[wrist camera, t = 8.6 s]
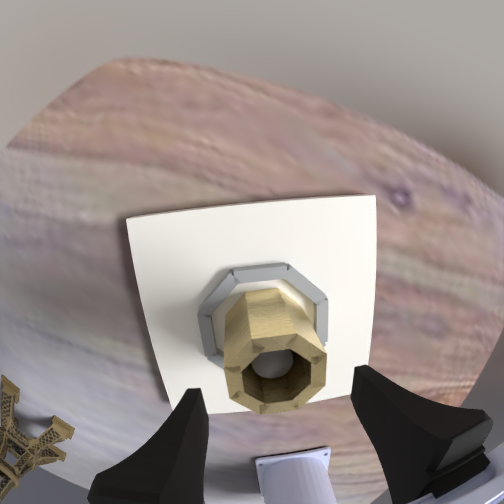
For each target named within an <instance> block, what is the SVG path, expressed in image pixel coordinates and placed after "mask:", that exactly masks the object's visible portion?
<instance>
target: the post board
mask: <svg viewBox="0 0 504 504" xmlns="http://www.w3.org/2000/svg"><path fill="white" fill-rule="evenodd" d="M126 222H127V229H128V235H129V241H130V247H131V253H132V259H133V264H134V269H135V274H136V279H137V284H138V289H139V293H140V298H141V302H142V306H143V311H144V315H145V319H146V323H147V327H148V331H149V334H150V338H151V342H152V346H153V349H154V353H155V356H156V360H157V363H158V366H159V369H160V373H161V376H162V379H163V382H164V385H165V388H166V391H167V394H168V397H169V400H170V403H171V406H172V409H173V410H174V409H175V407H176V406H177V404H178V403H179V401H180V399H181V398H182V396H183V395H184V393H185V391H186V390H187V389H188V388H201V391H202V395H203V398H204V402H205V406H206V410H207V414H213V413H229V412H242V411H252V410H250V409H248V408H246V407H244V406H242V405H240V404H238V403H236V402H235V401H233V400H231V399H229V394H228V389H227V383H226V378H225V373H224V368H223V366H224V338H225V314H226V313H227V312H228V311H229V310H230V309H231V308H232V306H233V305H234V304H235V303H236V302H237V301H238V300H239V298H240V297H241V296H242V295H243V294H244V293H245V291H254V290H263V289H272V288H279V289H280V290H281V291H283V292H284V293H285V294H287V295H288V296H289V297H290V298H292V299H293V300H294V301H296V302H297V303H298V304H300V305H301V306H302V308H303V310H304V312H305V314H306V316H307V317H308V319H309V321H310V323H311V325H312V327H313V329H314V330H315V332H316V334H317V336H318V338H319V340H320V342H321V343H322V345H323V347H324V349H325V351H326V353H327V367H326V386H324V387H323V388H322V389H321V390H320V391H319V392H318V393H317V394H316V395H314V396H313V397H312V398H311V399H310V400H309V401H308V402H306V403H309V402H315V401H320V400H325V399H330V398H335V397H339V396H344V395H348V394H351V391H352V383H353V375H354V367H357V366H361V365H365V364H366V365H368V359H369V351H370V343H371V333H372V323H373V311H374V297H375V278H376V196H375V195H369V194H357V195H338V196H321V197H307V198H293V199H280V200H269V201H257V202H247V203H237V204H227V205H218V206H209V207H200V208H192V209H184V210H176V211H168V212H160V213H153V214H146V215H139V216H133V217H130V218H128V219H126ZM292 364H293V356H292V353H291V350H290V349H285V350H278V351H270V352H262V353H260V354H259V355H258V356H257V357H256V358H255V359H254V360H253V361H252V365H253V369H254V371H255V372H256V373H257V374H258V375H260V376H262V377H264V378H277V377H280V376H282V375H284V374H286V373H287V372H288V371H289V370H290V369H291V367H292Z"/></svg>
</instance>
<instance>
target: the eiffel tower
mask: <svg viewBox="0 0 504 504" xmlns="http://www.w3.org/2000/svg"><path fill="white" fill-rule="evenodd" d="M2 389H3V390H2V401H1V427H0V476H1V477H2V478H3V480H2V481H1V483H0V503H1V501H2V500H3V499H4V497H5V496H6V495H7V494H8V492H9V491H10V490H11V488H12V487H13V488H14V489H17V488H18V487H19V484H20V479H21V478H22V477H23V475H24V474H25V473H27V472H28V471H29V470H31V469H32V470H33V471H34V469H35V466H39V465H44V464H48V463H53V462H56V461H57V460H62V461H63V462H64V459H65V456H66V453H65V452H63V451H61V450H60V449H58V448H57V447H55V446H53V445H52V444H55V443H58V442H61V441H64V440H65V439H67V438H69V439H71V438H72V436H73V433H74V430H75V428H74V427H72V426H70V425H69V424H67V423H66V422H64V421H63V420H61V419H60V418H58V417H57V416H55V415H54V418H53V420H52V423H51V426H50V427H49V428H48V429H47V430H46V431H45V432H44V433H43V434H42V435H41V436H39V437H38V438H29V437H26V436H25V435H23V434H22V433H21V432H20V431H19V430H17V429H18V420H17V419H16V418H15V417H14V403H16V404H17V403H18V402H19V392H20V389H19V388H18V387H16V386H15V385H14V384H13V383H12V382H11V381H9V380H8V379H7V378H6V377H5V376H4V375H2ZM46 446H47V448H45V449H42V448H44V447H46ZM7 451H9V452H10V453H11V454H12V455H14V456H15V457H16V458H18V461H17V462H16V463H15V465H14V466H12V465H10V464H9V463H8V462H6V461H5V460H4V459H5V457H6V453H7Z"/></svg>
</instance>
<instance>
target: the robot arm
mask: <svg viewBox="0 0 504 504" xmlns="http://www.w3.org/2000/svg"><path fill="white" fill-rule="evenodd" d="M351 400H352V403H353V406H354V409H355V412H356V414H357V416H358V418H359V420H360V422H361V424H362V425H363V427H364V429H365V431H366V433H367V435H368V436H369V438H370V440H371V442H372V444H373V446H374V448H375V450H376V452H377V454H378V457H379V460H380V462H381V465H382V468H383V471H384V474H385V477H386V480H387V484H388V487H389V490H390V494H391V498H392V503H393V504H497V503H499V502H500V501H501V500H502V499H504V442H503V443H502V444H501V445H499V446H498V447H496V448H495V449H494V450H492V451H491V452H490V453H489V454H488V455H487V456H485V454H484V453H483V452H484V451H485V448H484V446H483V445H482V444H483V443H484V441H485V439H486V438H487V436H488V434H489V433H490V431H491V429H492V426H493V421H492V419H491V418H490V417H489V416H488V415H487V414H486V413H485V412H484V411H483V410H478V409H465V408H459V407H453V406H449V405H444V404H441V403H437V402H434V401H431V400H428V399H426V398H423V397H421V396H419V395H416V394H414V393H412V392H410V391H408V390H406V389H404V388H403V387H401V386H399V385H397V384H396V383H394V382H392V381H391V380H389V379H388V378H386V377H384V376H383V375H381V374H380V373H378V372H377V371H375V370H374V369H372V368H371V367H369V366H368V365H366V364H365V365H361V366H357V367H354V375H353V383H352V391H351ZM208 436H209V417H208V414H207V410H206V406H205V402H204V398H203V395H202V391H201V388H188V389H187V390H186V391H185V393H184V395H183V396H182V398H181V399H180V401H179V403H178V404H177V406H176V407H175V409H174V410H173V411H172V413H171V414H170V416H169V417H168V418H167V420H166V421H165V422H164V423H163V425H162V426H161V427H160V428H159V430H158V431H157V432H156V433H155V434H154V435H153V436H152V437H151V438H150V439H149V440H148V441H147V442H146V443H145V444H144V445H143V446H142V447H140V448H139V449H138V450H137V451H136V452H134V453H133V454H132V455H130V456H129V457H127V458H126V459H124V460H123V461H121V462H120V463H118V464H116V465H115V466H113V467H111V468H109V469H107V470H105V471H103V472H101V473H98V474H96V476H95V478H94V480H93V483H92V485H91V488H90V491H89V494H88V497H87V499H88V501H89V503H90V504H204V498H203V478H204V467H205V460H206V452H207V444H208ZM330 452H331V449H330V448H329V447H324V448H319V449H314V450H309V451H304V452H298V453H292V454H286V455H279V456H271V457H262V458H257V459H256V460H255V463H256V469H257V475H258V480H259V486H260V492H261V496H263V497H264V501H265V504H337V502H336V499H335V495H334V492H333V489H332V486H331V483H330V480H329V477H328V474H327V470H328V464H329V458H330Z"/></svg>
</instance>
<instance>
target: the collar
mask: <svg viewBox="0 0 504 504" xmlns="http://www.w3.org/2000/svg"><path fill="white" fill-rule="evenodd" d="M285 349H290V350H291V353H292V356H293V364H292V367H291V369H290V370H289V371H288V372H287V373H286V374H284V375H282V376H280V377H277V378H264V377H262V376H260V375H258V374H257V373H256V372H255V371H254V369H253V365H252V361H253V360H254V359H255V358H256V357H257V356H258V355H259V354H260V353H262V352H270V351H278V350H285ZM326 367H327V353H326V351H325V349H324V347H323V345H322V343H321V342H320V340H319V338H318V336H317V334H316V332H315V330H314V329H313V327H312V325H311V323H310V321H309V319H308V317H307V316H306V314H305V312H304V310H303V308H302V306H301V305H300V304H298V303H297V302H296V301H294V300H293V299H292V298H290V297H289V296H288V295H287V294H285V293H284V292H283V291H281V290H280V289H279V288H272V289H263V290H254V291H245V293H244V294H243V295H242V296H241V297H240V298H239V300H238V301H237V302H236V303H235V304H234V305H233V306H232V308H231V309H230V310H229V311H228V312H227V313H226V314H225V338H224V366H223V368H224V373H225V378H226V383H227V389H228V394H229V399H231V400H233V401H235V402H236V403H238V404H240V405H242V406H244V407H246V408H248V409H250V410H252V411H254V412H256V413H258V414H260V415H262V414H270V413H278V412H285V411H291V410H297V409H299V408H300V407H302V406H303V405H304V404H305V403H306V402H308V401H309V400H310V399H311V398H312V397H313V396H314V395H316V394H317V393H318V392H319V391H320V390H321V389H322V388H323V387H324V386H326Z"/></svg>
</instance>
